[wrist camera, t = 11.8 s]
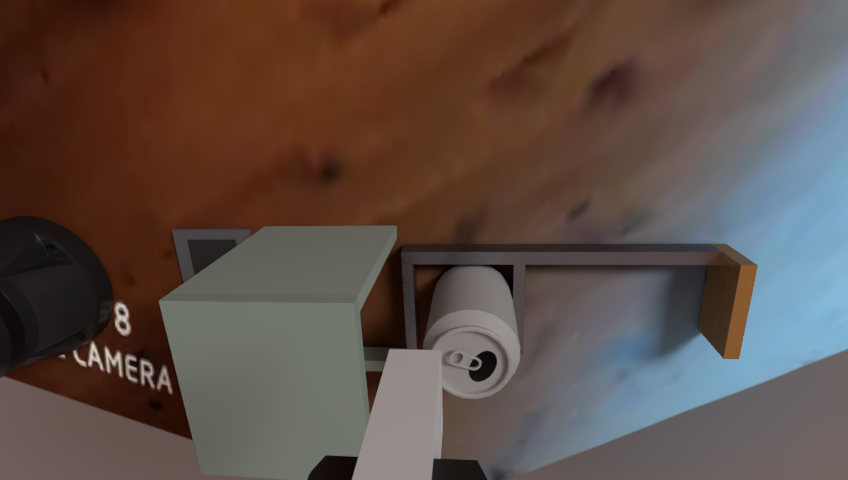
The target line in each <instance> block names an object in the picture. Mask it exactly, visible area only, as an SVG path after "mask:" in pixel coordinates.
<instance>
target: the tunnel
mask: <svg viewBox="0 0 848 480" xmlns="http://www.w3.org/2000/svg"><path fill="white" fill-rule="evenodd" d="M396 239H397V226H265V227H263V228H262V229H260V230H259V231H258V232H256V233H255V234H253V235H252V236H250V237H249V238H248V239H246V240H245V241H243V242H242V243H240V244H239V245H238V246H236V247H235V248H233V249H232V250H230V251H229V252H228V253H226V254H225V255H223V256H222V257H220V258H219V259H218V260H216V261H215V262H213V263H212V264H210V265H209V266H208V267H206V268H205V269H203V270H202V271H201V272H199V273H198V274H196V275H195V276H193V277H192V278H191V279H189V280H188V281H186V282H185V283H183V284H182V285H181V286H179V287H178V288H176V289H175V290H173V291H172V292H171V293H169V294H168V295H166V296H165V297H163V298H162V299H161V300H159V304H160V308H161V313H162V317H163V321H164V325H165V329H166V333H167V337H168V341H169V345H170V349H171V353H172V357H173V361H174V365H175V369H176V373H177V377H178V382H179V386H180V390H181V394H182V398H183V402H184V406H185V410H186V414H187V418H188V422H189V426H190V430H191V434H192V438H193V442H194V446H195V450H196V454H197V459H198V463H199V467H200V471H201V474H202V475H217V476H235V477H252V478H269V479H287V480H307V479H308V476H309V474H310V472H311V471H312V470H313V469H314V468H315V466H316V465H317V464H318V463H319V462H320V461H321V460H322V459H323V458H324V457H325V456H326V455H331V456H354V457H359V453H360V450H361V446H362V443H363V439H364V436H365V432H366V429H367V425H368V422H369V418H370V414H369V404H368V393H367V382H366V372H365V371H381V372H383V370H384V366H385V363H386V359H387V356H388V353H389V349H404V348H389V347H363V340H362V330H361V319H360V310H361V308H362V306H363V304H364V302H365V300H366V298H367V296H368V294H369V292H370V290H371V288H372V286H373V285H374V283H375V281H376V279H377V277H378V275H379V273H380V271H381V269H382V267H383V265H384V263H385V261H386V259H387V257H388V255H389V253H390V251H391V249H392V247H393V245H394V243H395V241H396Z"/></svg>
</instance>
